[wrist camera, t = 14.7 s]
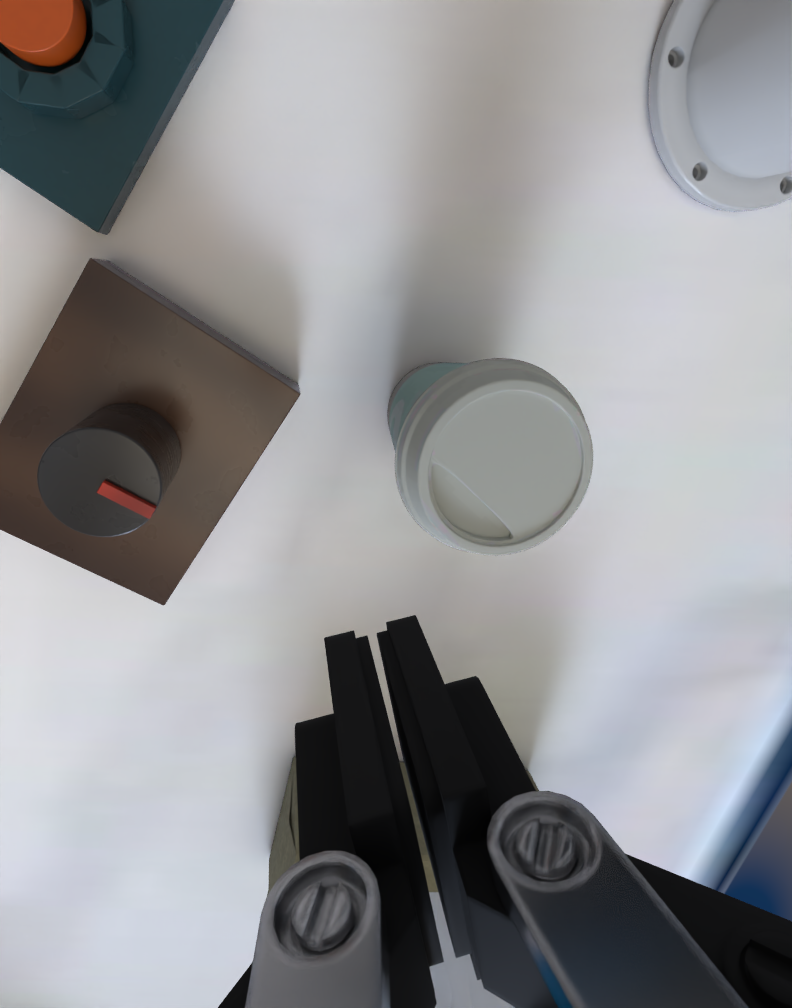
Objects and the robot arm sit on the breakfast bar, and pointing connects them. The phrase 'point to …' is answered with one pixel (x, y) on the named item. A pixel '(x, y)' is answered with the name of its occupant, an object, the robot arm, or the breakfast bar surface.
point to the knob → (110, 470)
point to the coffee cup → (489, 453)
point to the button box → (102, 102)
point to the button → (43, 30)
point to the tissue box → (454, 979)
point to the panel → (158, 386)
